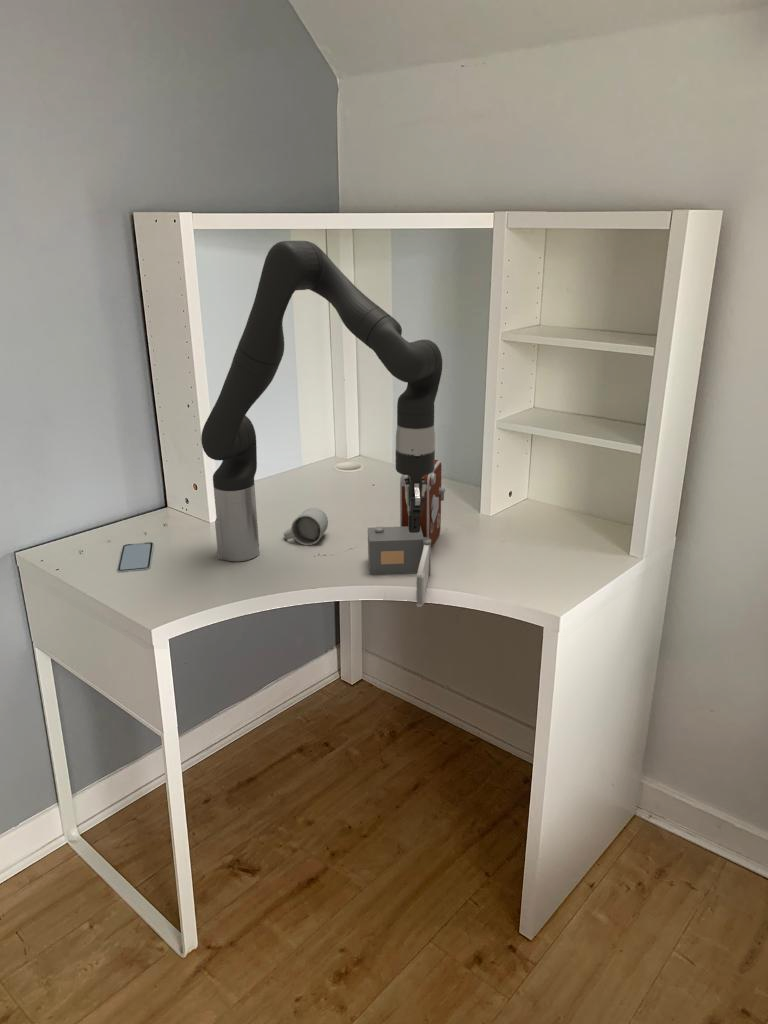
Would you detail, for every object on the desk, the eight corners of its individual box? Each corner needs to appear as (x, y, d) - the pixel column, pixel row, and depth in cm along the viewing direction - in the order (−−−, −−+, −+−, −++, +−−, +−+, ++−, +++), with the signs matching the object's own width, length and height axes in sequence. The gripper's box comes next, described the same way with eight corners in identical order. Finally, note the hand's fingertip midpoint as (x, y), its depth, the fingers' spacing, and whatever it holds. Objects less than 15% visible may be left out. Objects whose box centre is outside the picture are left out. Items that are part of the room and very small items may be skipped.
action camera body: (370, 578, 173) (369, 541, 170) (368, 559, 182) (367, 524, 179) (432, 576, 174) (432, 539, 171) (427, 557, 183) (427, 522, 180)
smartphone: (116, 571, 177) (122, 544, 191) (116, 575, 178) (123, 548, 191) (150, 568, 179) (154, 541, 192) (150, 572, 179) (154, 545, 193)
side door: (423, 607, 160) (423, 574, 157) (415, 606, 160) (415, 574, 157) (431, 572, 175) (431, 542, 173) (423, 571, 175) (423, 541, 173)
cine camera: (449, 526, 201) (451, 450, 194) (433, 557, 184) (434, 475, 176) (414, 523, 203) (414, 448, 196) (395, 553, 186) (394, 472, 179)
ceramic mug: (330, 533, 198) (328, 504, 195) (322, 546, 190) (320, 516, 187) (289, 532, 199) (287, 503, 197) (279, 544, 192) (277, 515, 189)
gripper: (393, 438, 157) (392, 519, 163) (398, 458, 145) (397, 545, 151) (430, 437, 157) (429, 518, 164) (439, 457, 145) (437, 544, 151)
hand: (414, 531), depth 157 cm, fingers closed
